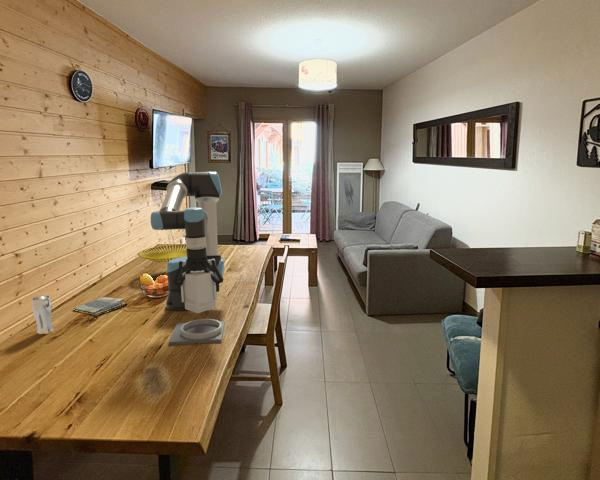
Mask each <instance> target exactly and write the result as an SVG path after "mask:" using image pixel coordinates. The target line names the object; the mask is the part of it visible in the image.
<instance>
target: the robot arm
mask: <svg viewBox="0 0 600 480" xmlns="http://www.w3.org/2000/svg"><path fill="white" fill-rule="evenodd" d="M165 189H166V194H165V197H164V199H163V202H162V204H161V207H160V209H159V210H157V211H152V212H151V213H150V225H151V228H152V229H153V230H154V231H155V230H156V231H168V230H171V231H172V230H185V245H186V248H187V250H186V251H187V257H180V258H176V259H173V260H171V261H169V262H166V263H167V264H166V273H167V276H168V278H167V285H168V286H167V287H168V294H167V297H166V300H165V308H166V309H167V310H170V311H176V312H177V311H178V312H179V311H181V312H182V311H188V310H187V309H185V300H184V288H183V281H184V280H185V275H184V276H183V275H182V273H185V272H186V273H185V274H189V273H190V272H191V271H202V270H204V272H206V273H210V272H213V275H214V276H213V275H212V274H211V279H212V280H213V281H214V296H215V302H216V301H218V292H220V284H222V283H223V282H224V272H225V259H224V258H222V254H221V253H220V252H219V249H218V247H219V245H218V244H219V243H218V217H217V216H218V214H217V212H218V211H217V210H218V209H217V203H218V202H219V201H220V197H221V196H222V195H223V190H222V183H221V178H220V175H219V173H218V172H217V171H209V170H208V171H195V172H194V171H193V172H189V171H187V172H183V173H180V174H178V175H176V176H175V177H173V178H172V179H171V180H170V181H169V182H168V183H167V186H166V188H165ZM186 197H194V200H195V202H197V206H198V207H187V208H185V209H183V210H180V208H181V206H182V203H183V201H184V199H185V198H186Z"/></svg>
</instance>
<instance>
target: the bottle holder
mask: <svg viewBox="0 0 600 480" xmlns="http://www.w3.org/2000/svg"><path fill="white" fill-rule="evenodd" d="M225 325H226V321H225V320H220V321H219V320H218V319H214V318H199V319H194V320H190V321H188V322H181V323H176V325H175V327H174V329H173V331H172V334H171V336H170V338H169V340H168V346H177V345H178V344H181V345H194V344H195V343H198V344H211V343H212V344H213V343H222V341H223V335H224V329H225ZM178 346H179V345H178Z"/></svg>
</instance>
